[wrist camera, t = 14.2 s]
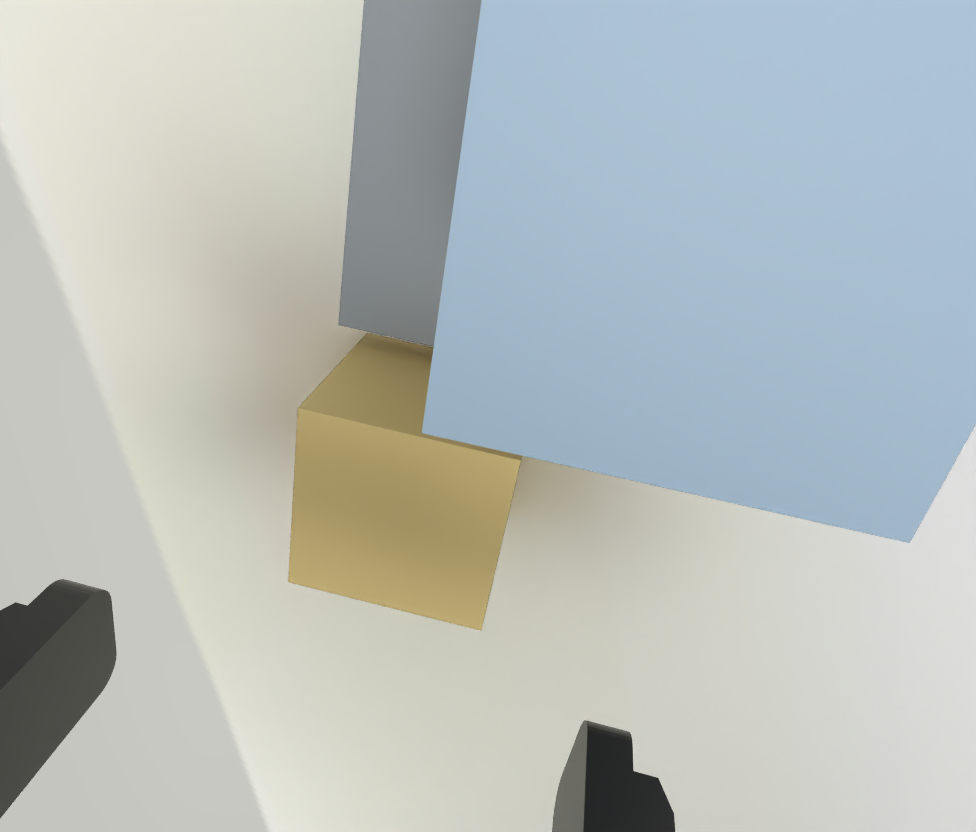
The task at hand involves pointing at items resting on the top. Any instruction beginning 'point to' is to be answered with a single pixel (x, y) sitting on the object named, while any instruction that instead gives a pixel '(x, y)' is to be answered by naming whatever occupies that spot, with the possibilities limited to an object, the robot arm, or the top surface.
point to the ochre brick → (394, 492)
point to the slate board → (405, 162)
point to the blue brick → (719, 249)
